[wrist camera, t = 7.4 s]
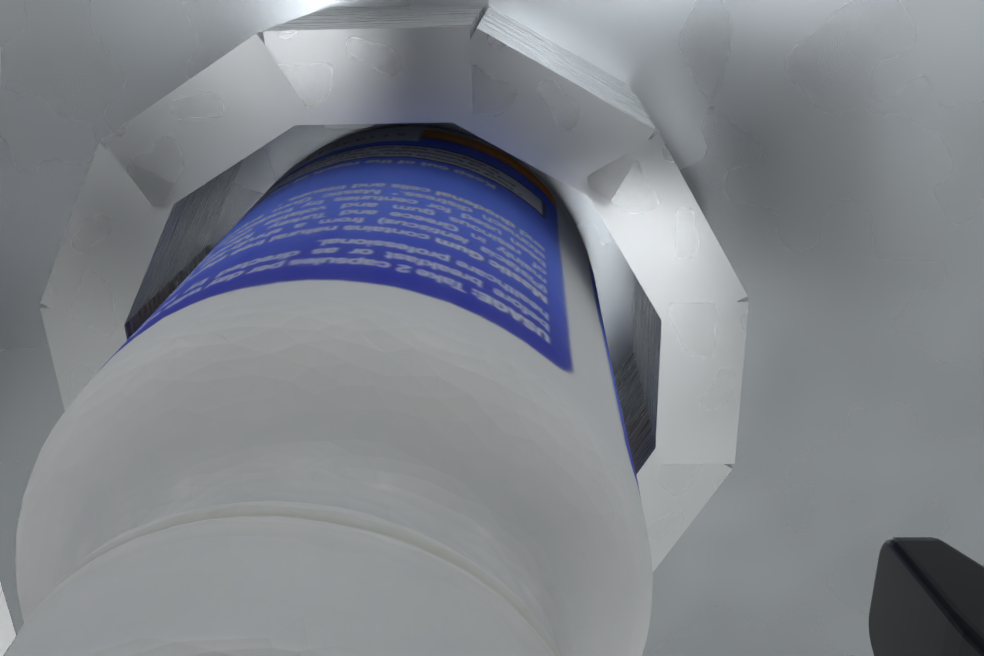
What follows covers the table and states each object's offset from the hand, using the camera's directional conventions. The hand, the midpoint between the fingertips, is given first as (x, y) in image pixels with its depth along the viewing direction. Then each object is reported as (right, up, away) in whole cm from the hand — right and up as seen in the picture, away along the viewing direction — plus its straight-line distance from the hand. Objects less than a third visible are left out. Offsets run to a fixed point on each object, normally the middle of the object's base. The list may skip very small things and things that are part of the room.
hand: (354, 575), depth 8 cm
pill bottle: (0, +3, +6) cm, 7 cm away
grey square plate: (+1, +1, +8) cm, 8 cm away
